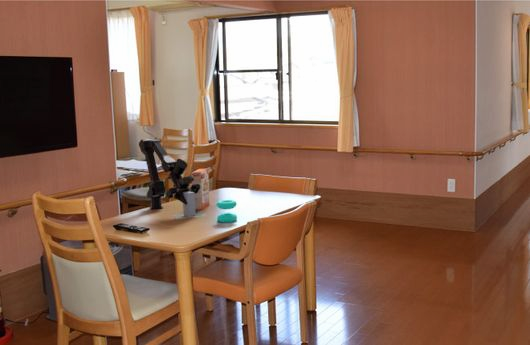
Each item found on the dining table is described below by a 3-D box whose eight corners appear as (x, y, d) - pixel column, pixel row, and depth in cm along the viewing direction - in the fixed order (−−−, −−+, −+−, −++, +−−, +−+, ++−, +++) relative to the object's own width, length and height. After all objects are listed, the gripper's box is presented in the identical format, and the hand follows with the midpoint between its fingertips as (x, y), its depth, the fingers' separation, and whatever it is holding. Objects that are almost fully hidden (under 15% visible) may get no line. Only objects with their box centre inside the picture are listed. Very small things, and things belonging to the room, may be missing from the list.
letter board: (172, 215, 338) (172, 214, 338) (202, 212, 343) (202, 212, 343) (176, 220, 327) (176, 219, 327) (207, 217, 331) (207, 216, 331)
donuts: (224, 198, 327) (240, 200, 322) (224, 217, 329) (241, 219, 323) (212, 202, 319) (228, 203, 314) (213, 222, 320) (229, 223, 315)
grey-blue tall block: (183, 215, 335) (182, 192, 333) (190, 213, 338) (189, 191, 336) (188, 216, 332) (187, 193, 330) (195, 215, 335) (194, 192, 333)
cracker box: (203, 210, 350) (201, 172, 347) (192, 209, 351) (190, 172, 348) (210, 204, 364) (208, 168, 361) (200, 204, 365) (198, 168, 362)
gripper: (168, 172, 328) (181, 196, 322) (198, 168, 340) (211, 191, 334) (160, 186, 335) (173, 209, 329) (190, 181, 347) (203, 204, 341)
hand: (190, 203), depth 333 cm, fingers closed on grey-blue tall block, 4 cm apart
